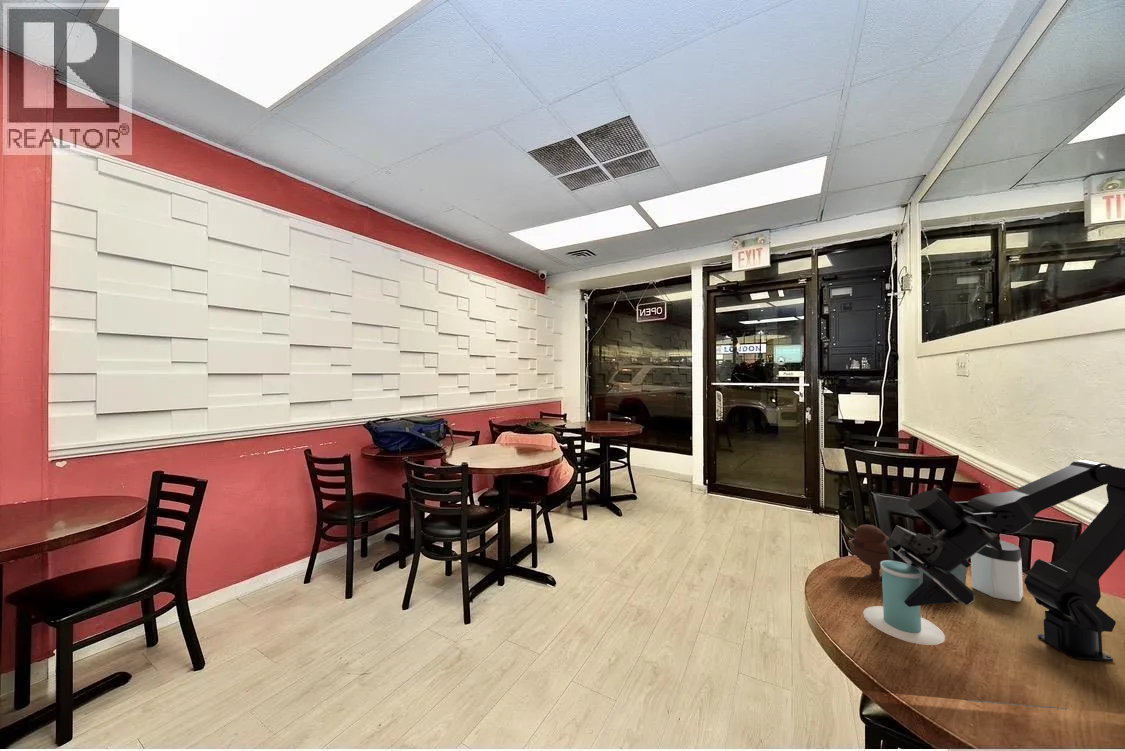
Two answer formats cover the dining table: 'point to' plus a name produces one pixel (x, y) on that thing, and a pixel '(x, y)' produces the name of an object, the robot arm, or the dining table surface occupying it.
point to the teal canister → (900, 596)
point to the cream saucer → (926, 637)
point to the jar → (998, 572)
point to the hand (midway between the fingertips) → (893, 592)
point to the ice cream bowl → (870, 548)
